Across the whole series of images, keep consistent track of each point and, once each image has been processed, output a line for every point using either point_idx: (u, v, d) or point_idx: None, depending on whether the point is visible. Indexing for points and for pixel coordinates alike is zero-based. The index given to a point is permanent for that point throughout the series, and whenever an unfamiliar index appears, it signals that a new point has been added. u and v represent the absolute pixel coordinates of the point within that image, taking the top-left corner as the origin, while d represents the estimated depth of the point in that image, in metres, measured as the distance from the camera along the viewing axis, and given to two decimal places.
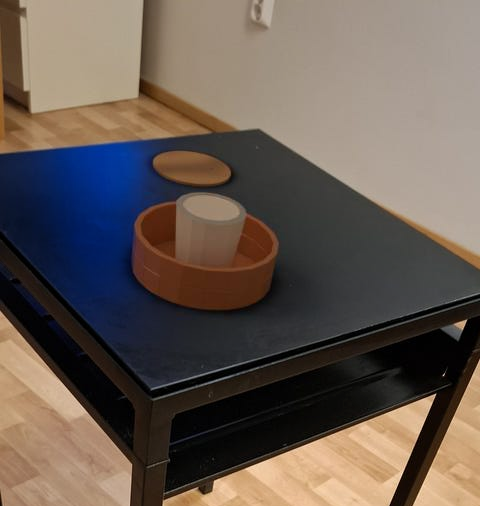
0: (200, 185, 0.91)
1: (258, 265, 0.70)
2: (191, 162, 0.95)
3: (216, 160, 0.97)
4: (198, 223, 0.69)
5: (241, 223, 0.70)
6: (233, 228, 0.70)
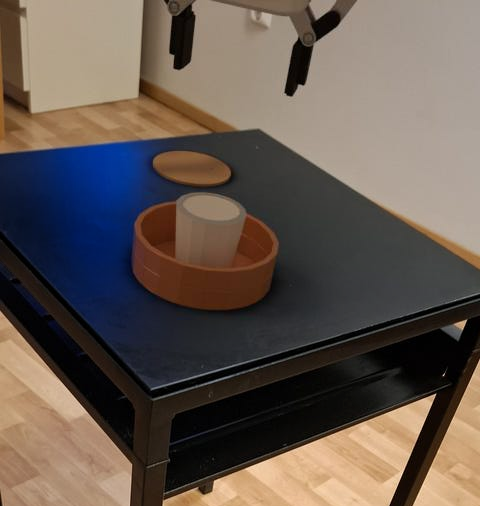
0: (200, 185, 0.91)
1: (258, 265, 0.70)
2: (191, 162, 0.95)
3: (216, 160, 0.97)
4: (198, 223, 0.69)
5: (241, 223, 0.70)
6: (233, 228, 0.70)
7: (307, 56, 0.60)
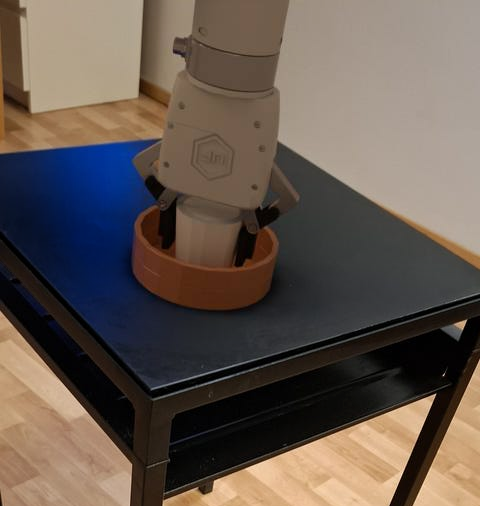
0: None
1: (258, 265, 0.70)
2: None
3: None
4: (198, 223, 0.69)
5: (241, 223, 0.70)
6: (233, 228, 0.70)
7: (252, 239, 0.71)
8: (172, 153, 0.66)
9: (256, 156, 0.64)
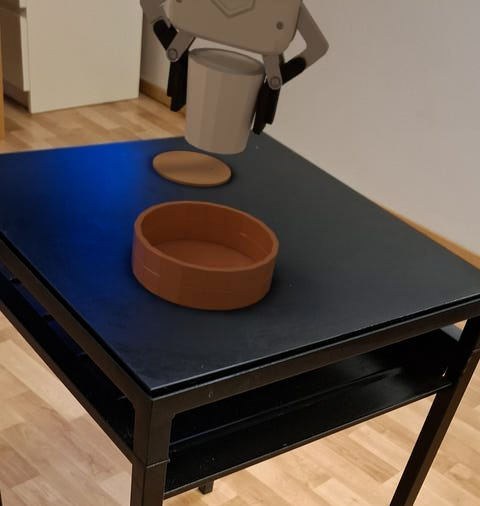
0: (200, 185, 0.91)
1: (258, 265, 0.70)
2: (191, 162, 0.95)
3: (216, 160, 0.97)
4: (214, 72, 0.60)
5: (262, 78, 0.62)
6: (253, 82, 0.61)
7: (274, 98, 0.63)
8: None
9: None
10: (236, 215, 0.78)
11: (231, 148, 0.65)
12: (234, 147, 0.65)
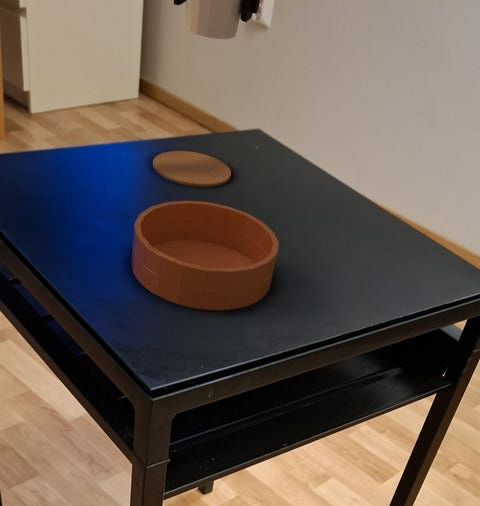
0: (200, 185, 0.91)
1: (258, 265, 0.70)
2: (191, 162, 0.95)
3: (216, 160, 0.97)
4: None
5: None
6: None
7: None
8: None
9: None
10: (236, 215, 0.78)
11: (223, 33, 0.80)
12: (226, 33, 0.80)
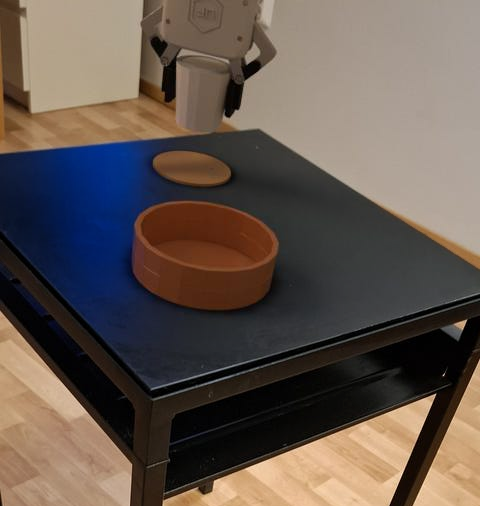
0: (200, 185, 0.91)
1: (258, 265, 0.70)
2: (191, 162, 0.95)
3: (216, 160, 0.97)
4: (194, 73, 0.84)
5: (229, 76, 0.86)
6: (223, 79, 0.85)
7: (239, 90, 0.86)
8: (173, 11, 0.81)
9: (240, 10, 0.79)
10: (236, 215, 0.78)
11: (209, 128, 0.89)
12: (211, 127, 0.89)
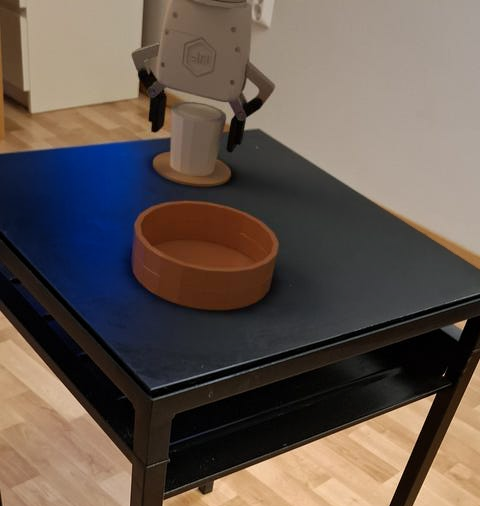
0: (200, 185, 0.91)
1: (258, 265, 0.70)
2: None
3: (216, 160, 0.97)
4: (188, 121, 0.87)
5: (222, 123, 0.89)
6: (215, 126, 0.88)
7: (241, 126, 0.89)
8: (168, 55, 0.84)
9: (233, 56, 0.82)
10: (236, 215, 0.78)
11: (203, 172, 0.92)
12: (205, 171, 0.92)
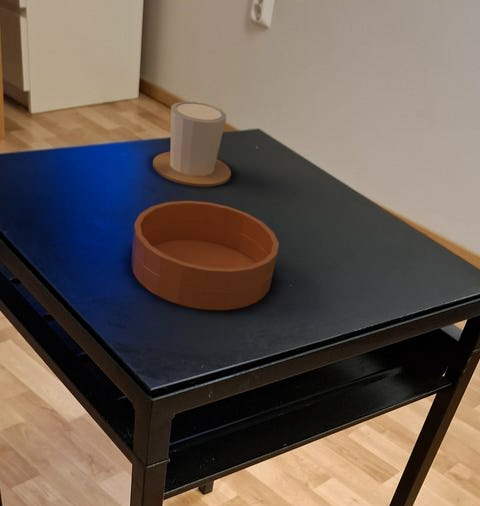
0: (200, 185, 0.91)
1: (258, 265, 0.70)
2: None
3: (216, 160, 0.97)
4: (188, 121, 0.87)
5: (222, 123, 0.89)
6: (215, 126, 0.88)
7: None
8: None
9: None
10: (236, 215, 0.78)
11: (203, 172, 0.92)
12: (205, 171, 0.92)
